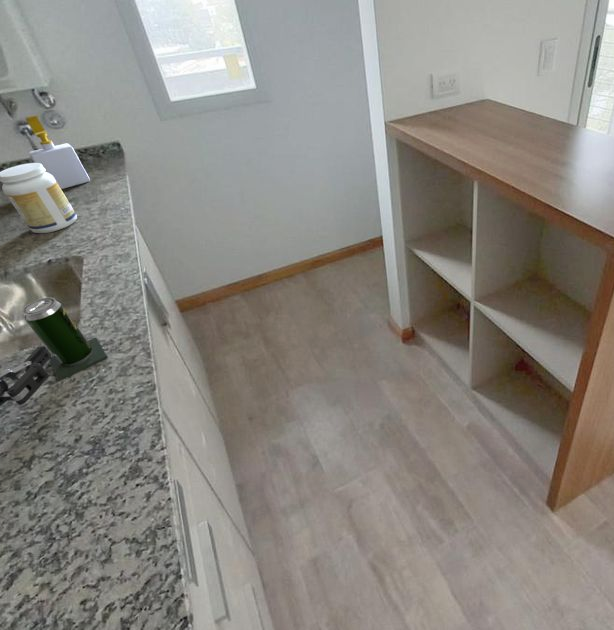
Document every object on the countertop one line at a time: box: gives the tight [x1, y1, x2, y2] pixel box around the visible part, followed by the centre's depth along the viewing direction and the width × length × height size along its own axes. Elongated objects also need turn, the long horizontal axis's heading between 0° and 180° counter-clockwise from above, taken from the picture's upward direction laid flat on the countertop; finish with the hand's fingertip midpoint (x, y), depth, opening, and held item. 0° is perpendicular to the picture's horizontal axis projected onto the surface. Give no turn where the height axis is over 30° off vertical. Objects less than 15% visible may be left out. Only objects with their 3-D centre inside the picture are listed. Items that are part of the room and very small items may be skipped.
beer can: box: [21, 296, 92, 366], centre depth 78 cm, size 5×5×12 cm
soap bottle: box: [25, 114, 91, 190], centre depth 152 cm, size 12×7×23 cm, turn 134°
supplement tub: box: [0, 162, 78, 234], centre depth 126 cm, size 12×12×17 cm
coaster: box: [49, 336, 109, 382], centre depth 82 cm, size 8×8×1 cm
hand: (18, 352), depth 70 cm, fingers open, 8 cm apart
